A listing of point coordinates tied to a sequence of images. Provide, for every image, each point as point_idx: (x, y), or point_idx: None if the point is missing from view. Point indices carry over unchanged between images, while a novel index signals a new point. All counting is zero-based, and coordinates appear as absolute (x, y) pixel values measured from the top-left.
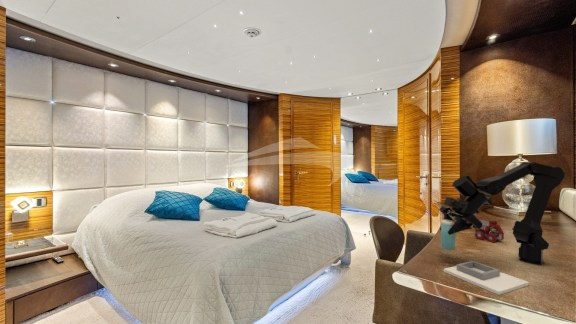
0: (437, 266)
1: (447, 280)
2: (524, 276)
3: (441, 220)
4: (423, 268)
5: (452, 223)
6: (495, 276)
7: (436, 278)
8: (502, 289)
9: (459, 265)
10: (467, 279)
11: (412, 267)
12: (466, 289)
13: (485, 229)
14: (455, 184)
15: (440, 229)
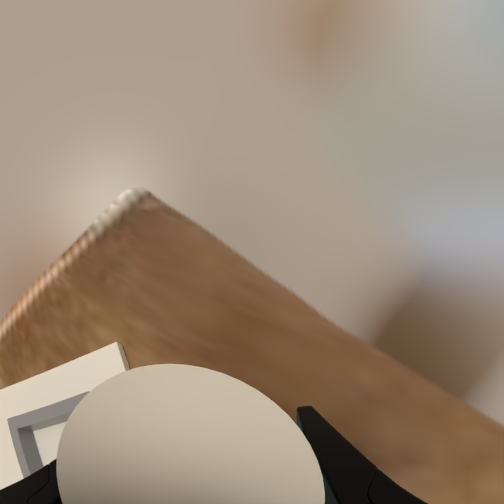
0: (179, 351)
1: (60, 313)
2: None
3: (216, 374)
4: (160, 276)
5: (70, 483)
6: None
7: (78, 283)
8: None
9: (76, 395)
10: (37, 376)
11: (174, 237)
12: (12, 334)
13: None
14: None
15: (298, 409)
